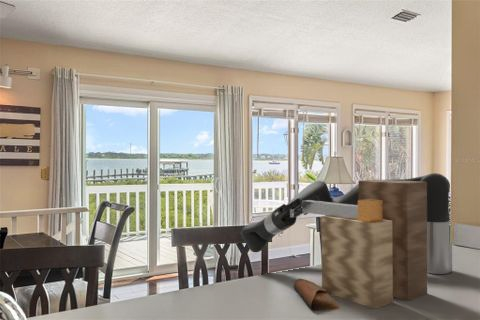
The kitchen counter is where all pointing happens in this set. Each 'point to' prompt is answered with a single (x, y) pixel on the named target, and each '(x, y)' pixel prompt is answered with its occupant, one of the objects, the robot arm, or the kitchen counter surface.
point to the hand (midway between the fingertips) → (309, 199)
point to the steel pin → (347, 209)
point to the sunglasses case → (315, 295)
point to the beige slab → (358, 260)
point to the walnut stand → (404, 231)
